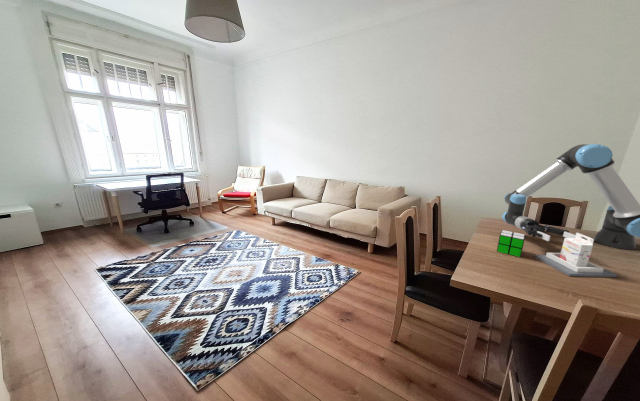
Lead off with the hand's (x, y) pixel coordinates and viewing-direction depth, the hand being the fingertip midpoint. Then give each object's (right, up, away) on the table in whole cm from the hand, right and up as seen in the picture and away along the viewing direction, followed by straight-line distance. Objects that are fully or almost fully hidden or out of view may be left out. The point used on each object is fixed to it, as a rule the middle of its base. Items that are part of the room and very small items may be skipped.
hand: (563, 238), depth 113 cm
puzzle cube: (-17, -9, +12) cm, 23 cm away
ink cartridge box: (0, -12, -4) cm, 12 cm away
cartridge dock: (0, -13, -4) cm, 13 cm away
